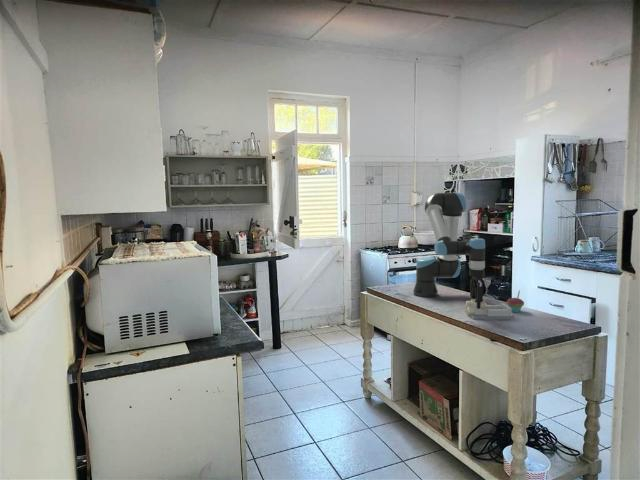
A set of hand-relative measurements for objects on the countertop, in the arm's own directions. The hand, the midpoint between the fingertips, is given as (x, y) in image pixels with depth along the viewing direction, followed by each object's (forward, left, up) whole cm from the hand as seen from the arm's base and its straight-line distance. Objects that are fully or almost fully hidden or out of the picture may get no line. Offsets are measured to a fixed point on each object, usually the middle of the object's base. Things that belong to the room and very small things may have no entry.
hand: (475, 312), depth 216 cm
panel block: (0, 0, 0) cm, 0 cm away
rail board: (0, +7, -2) cm, 7 cm away
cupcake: (-9, +24, -2) cm, 25 cm away
